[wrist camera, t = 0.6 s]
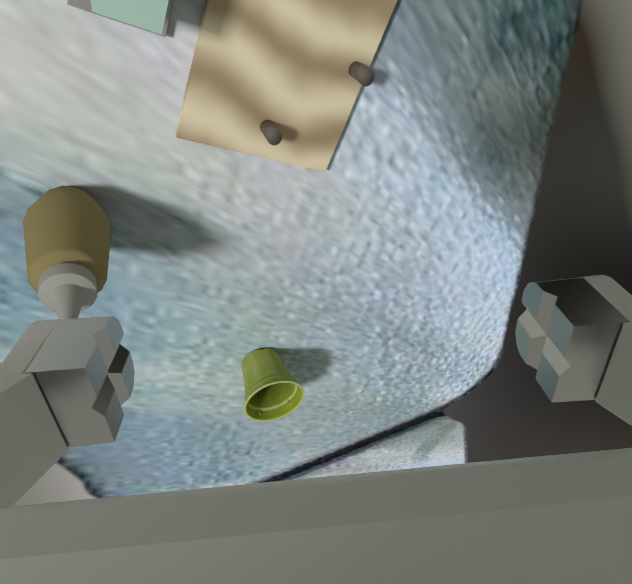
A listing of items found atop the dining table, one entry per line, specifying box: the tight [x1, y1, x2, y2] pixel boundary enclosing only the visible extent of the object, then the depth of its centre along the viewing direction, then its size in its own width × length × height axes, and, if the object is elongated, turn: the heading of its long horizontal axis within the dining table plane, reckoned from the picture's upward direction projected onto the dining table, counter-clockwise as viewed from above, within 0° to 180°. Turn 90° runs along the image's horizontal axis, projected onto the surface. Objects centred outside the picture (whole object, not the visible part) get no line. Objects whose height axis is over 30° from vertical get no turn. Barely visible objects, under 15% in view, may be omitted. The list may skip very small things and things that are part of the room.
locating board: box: [176, 0, 397, 172], centre depth 48 cm, size 24×18×4 cm
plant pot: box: [242, 348, 304, 422], centre depth 77 cm, size 9×9×9 cm
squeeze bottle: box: [23, 186, 111, 320], centre depth 46 cm, size 8×8×18 cm
